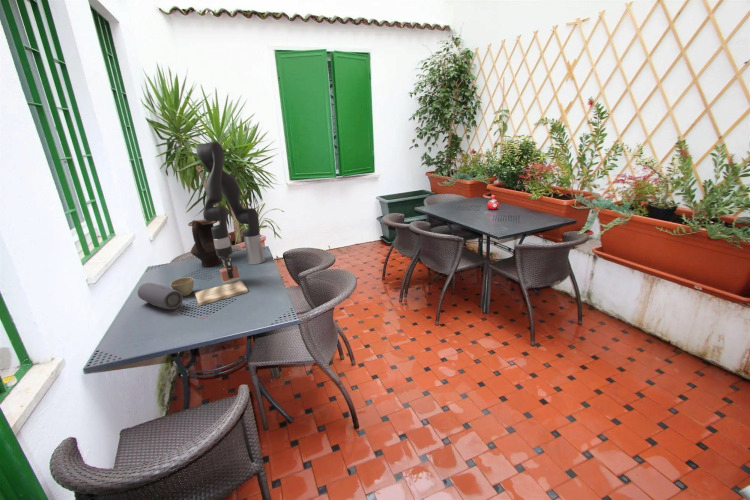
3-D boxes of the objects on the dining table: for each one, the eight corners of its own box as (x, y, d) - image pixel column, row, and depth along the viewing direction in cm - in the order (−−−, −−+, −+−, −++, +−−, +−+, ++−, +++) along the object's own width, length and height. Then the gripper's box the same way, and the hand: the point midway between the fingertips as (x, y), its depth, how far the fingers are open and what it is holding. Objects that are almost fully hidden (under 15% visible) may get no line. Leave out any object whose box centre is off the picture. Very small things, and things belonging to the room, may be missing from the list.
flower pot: (199, 293, 169) (196, 280, 167) (178, 300, 163) (174, 287, 160) (192, 288, 176) (188, 275, 174) (171, 295, 169) (167, 282, 167)
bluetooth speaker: (186, 306, 157) (181, 286, 154) (166, 315, 149) (160, 294, 146) (159, 297, 168) (154, 278, 165) (139, 305, 161) (133, 286, 158)
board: (241, 283, 178) (241, 280, 178) (248, 292, 167) (247, 289, 166) (195, 295, 167) (194, 292, 167) (199, 305, 156) (198, 302, 156)
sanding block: (237, 275, 182) (235, 265, 180) (239, 278, 178) (237, 267, 176) (222, 280, 178) (219, 269, 176) (223, 282, 174) (221, 272, 172)
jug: (201, 260, 218) (190, 214, 209) (230, 257, 220) (221, 211, 210) (187, 272, 199) (174, 222, 189) (220, 269, 200) (209, 219, 190)
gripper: (233, 247, 168) (240, 278, 174) (227, 240, 179) (234, 270, 185) (217, 251, 164) (225, 283, 170) (212, 244, 175) (220, 274, 181)
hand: (230, 276), depth 177 cm, fingers closed on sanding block, 4 cm apart
